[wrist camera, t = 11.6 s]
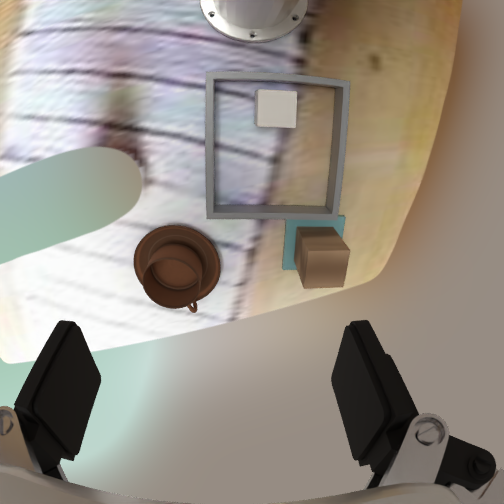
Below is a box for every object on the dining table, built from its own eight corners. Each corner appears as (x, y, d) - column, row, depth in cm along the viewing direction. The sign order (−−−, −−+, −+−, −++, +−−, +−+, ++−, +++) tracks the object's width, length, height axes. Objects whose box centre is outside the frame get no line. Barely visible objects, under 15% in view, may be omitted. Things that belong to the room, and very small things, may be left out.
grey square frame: (208, 74, 31) (206, 72, 29) (341, 82, 32) (350, 81, 30) (208, 210, 39) (206, 219, 36) (330, 212, 40) (337, 220, 37)
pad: (286, 213, 40) (287, 215, 39) (344, 215, 40) (345, 217, 40) (282, 267, 44) (282, 269, 43) (335, 267, 44) (337, 269, 44)
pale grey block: (255, 91, 33) (258, 89, 28) (288, 93, 33) (297, 91, 28) (254, 123, 35) (257, 126, 30) (287, 124, 35) (295, 128, 30)
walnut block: (296, 226, 40) (308, 250, 34) (333, 226, 40) (350, 250, 34) (293, 260, 42) (303, 288, 36) (328, 259, 43) (343, 287, 37)
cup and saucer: (238, 261, 43) (239, 286, 38) (182, 309, 46) (177, 336, 41) (174, 202, 39) (164, 219, 33) (121, 259, 42) (107, 282, 36)
